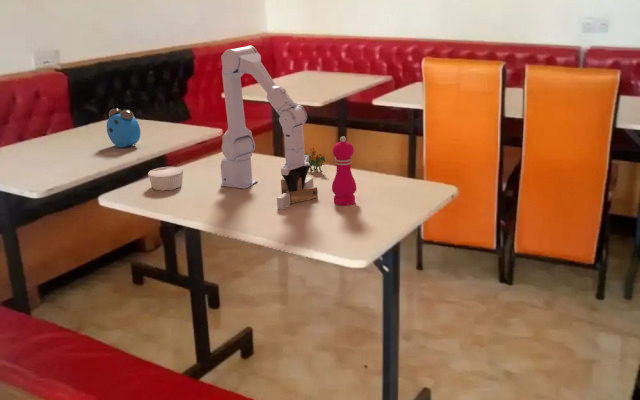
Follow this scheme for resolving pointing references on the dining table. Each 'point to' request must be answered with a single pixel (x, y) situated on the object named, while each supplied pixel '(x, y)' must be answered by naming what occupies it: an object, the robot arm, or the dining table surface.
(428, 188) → the dining table surface
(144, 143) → the dining table surface
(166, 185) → the ramekin
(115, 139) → the alarm clock
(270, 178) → the dining table surface
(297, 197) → the door
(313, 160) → the figurine
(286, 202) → the wall frame
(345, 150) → the pepper mill
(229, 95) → the robot arm
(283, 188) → the block
